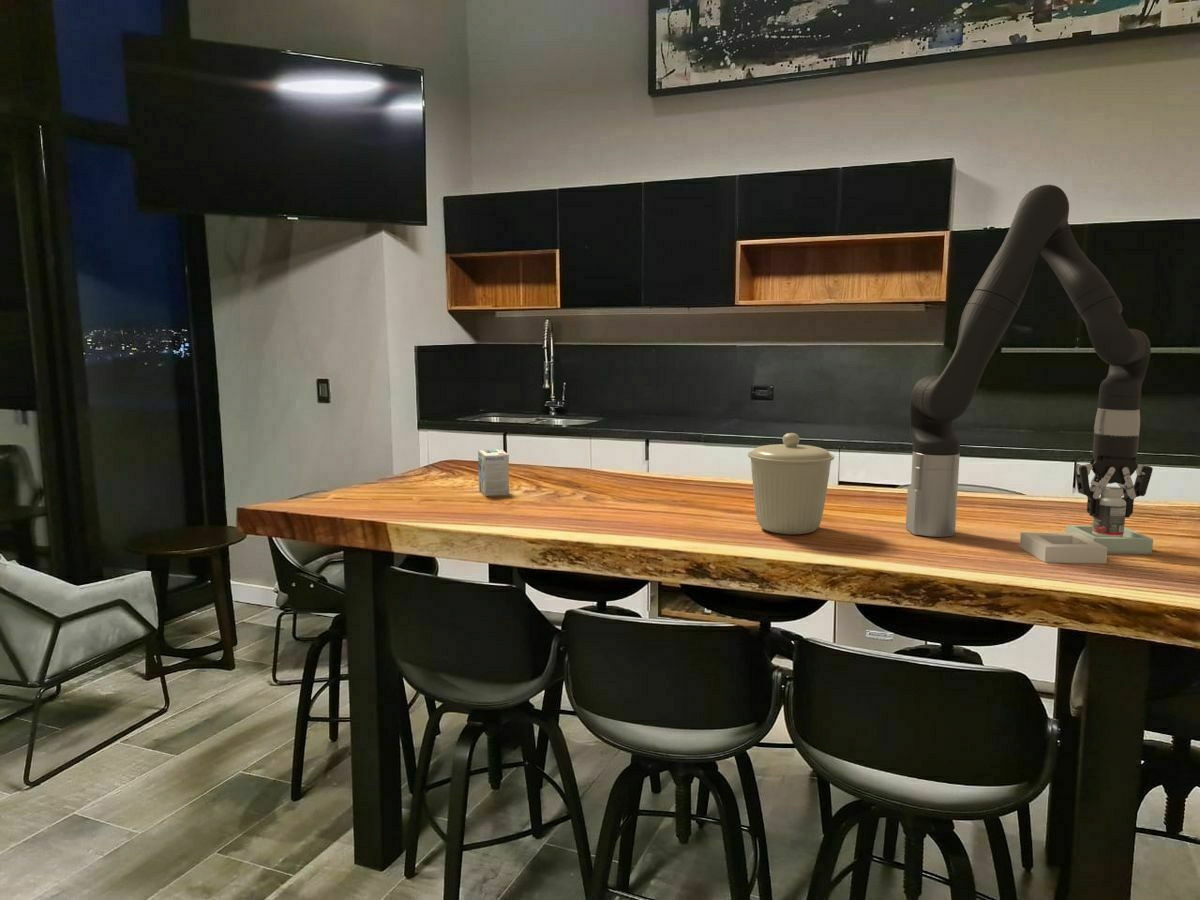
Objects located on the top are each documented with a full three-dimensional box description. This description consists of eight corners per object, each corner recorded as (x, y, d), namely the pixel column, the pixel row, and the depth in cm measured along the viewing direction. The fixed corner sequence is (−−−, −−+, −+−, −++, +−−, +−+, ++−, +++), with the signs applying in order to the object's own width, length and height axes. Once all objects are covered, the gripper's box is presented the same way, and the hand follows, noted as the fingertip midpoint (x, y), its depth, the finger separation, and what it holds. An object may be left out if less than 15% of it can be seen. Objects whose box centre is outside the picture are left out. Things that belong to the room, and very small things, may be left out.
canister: (730, 524, 189) (732, 430, 186) (800, 517, 195) (803, 426, 192) (775, 543, 172) (777, 440, 169) (849, 535, 178) (853, 436, 175)
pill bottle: (1085, 533, 171) (1089, 485, 169) (1110, 532, 171) (1114, 484, 170) (1104, 539, 165) (1108, 490, 164) (1129, 538, 166) (1134, 489, 165)
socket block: (1044, 562, 157) (1045, 546, 157) (1019, 547, 168) (1020, 532, 168) (1106, 563, 157) (1107, 547, 156) (1076, 548, 167) (1078, 533, 167)
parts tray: (1092, 553, 163) (1093, 538, 163) (1065, 539, 174) (1066, 525, 174) (1151, 554, 163) (1153, 539, 162) (1120, 540, 174) (1122, 525, 173)
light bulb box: (478, 489, 231) (477, 449, 229) (502, 487, 233) (501, 448, 231) (484, 496, 221) (483, 455, 219) (510, 494, 223) (509, 454, 221)
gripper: (1088, 434, 162) (1081, 520, 165) (1166, 434, 161) (1158, 521, 164) (1069, 429, 170) (1062, 512, 172) (1143, 429, 169) (1136, 513, 171)
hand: (1109, 516), depth 168 cm, fingers closed on pill bottle, 5 cm apart
